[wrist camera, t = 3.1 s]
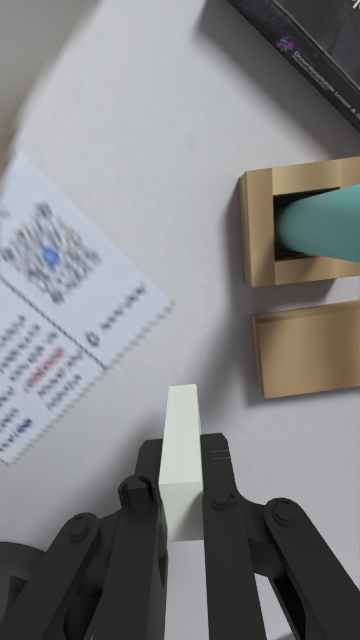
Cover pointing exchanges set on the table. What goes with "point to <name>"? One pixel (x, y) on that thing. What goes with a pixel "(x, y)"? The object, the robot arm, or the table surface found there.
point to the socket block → (260, 224)
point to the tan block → (308, 349)
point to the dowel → (321, 225)
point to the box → (315, 44)
